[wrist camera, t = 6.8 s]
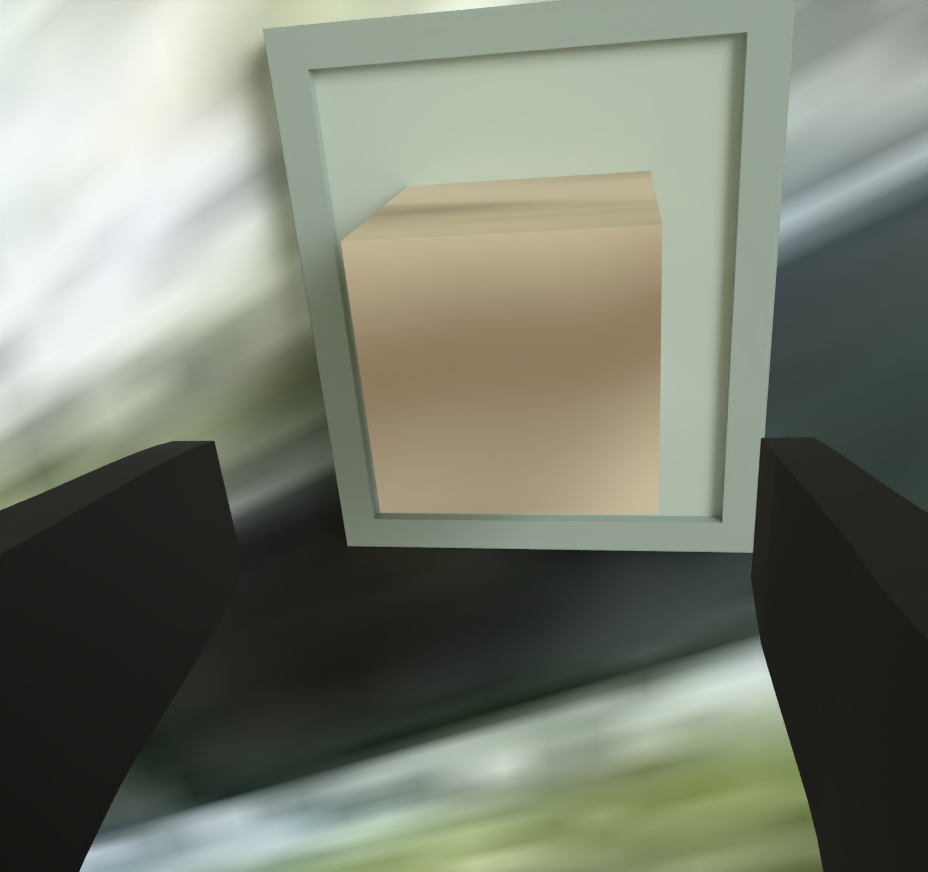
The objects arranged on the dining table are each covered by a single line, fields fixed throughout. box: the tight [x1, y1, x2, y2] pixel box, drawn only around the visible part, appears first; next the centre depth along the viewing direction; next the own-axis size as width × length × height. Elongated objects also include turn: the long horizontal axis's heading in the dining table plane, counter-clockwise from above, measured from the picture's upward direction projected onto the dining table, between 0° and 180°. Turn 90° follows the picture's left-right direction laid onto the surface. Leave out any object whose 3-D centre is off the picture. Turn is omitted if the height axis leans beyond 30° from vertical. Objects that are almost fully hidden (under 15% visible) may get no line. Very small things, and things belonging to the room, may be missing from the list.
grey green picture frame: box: [263, 0, 796, 552], centre depth 19 cm, size 12×10×1 cm
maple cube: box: [341, 171, 662, 514], centre depth 17 cm, size 5×5×5 cm
